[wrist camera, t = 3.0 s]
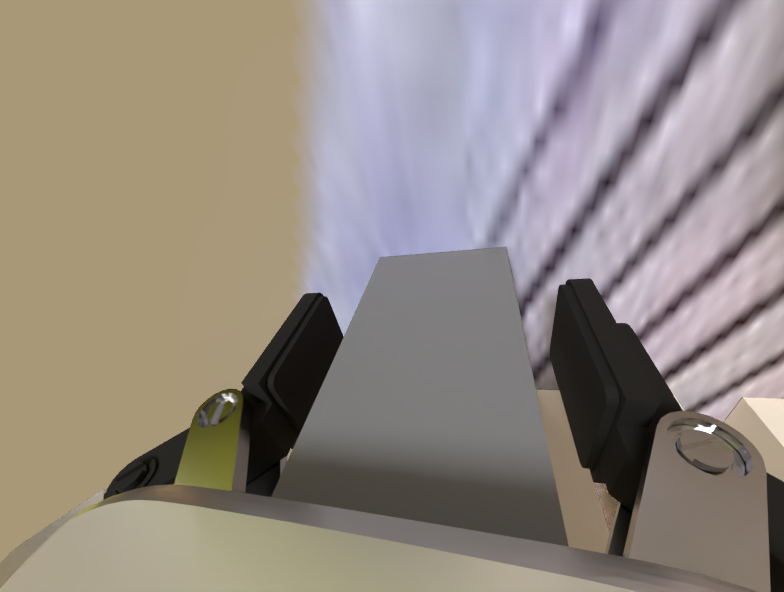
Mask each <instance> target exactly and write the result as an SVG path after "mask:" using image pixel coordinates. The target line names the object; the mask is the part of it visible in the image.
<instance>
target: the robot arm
mask: <svg viewBox="0 0 784 592" xmlns="http://www.w3.org/2000/svg"><path fill="white" fill-rule="evenodd" d="M343 338H344V337H343V334H342V332H341V330H340V327H339V325H338V322H337V320H336V317H335V315H334V312H333V310H332V307H331V305H330V302H329V300H328V298H327V297H325V296H323V294H322V293H307V294H304V295H303V297H302V298H301V299H300V301H299V302H298V304H297V305H296V307H295V308H294V309H293V311H292V312H291V314H290V315H289V316H288V318H287V320H286V321H285V322H284V323H283V325H282V326H281V328H280V329H279V331H278V332H277V333H276V335H275V336H274V338H273V339H272V340H271V342H270V343H269V345H268V346H267V347H266V349H265V350H264V352H263V353H262V355H261V356H260V357H259V359H258V360H257V362H256V363H255V364H254V366H253V367H252V369H251V370H250V371H249V373H248V374H247V376H246V377H245V379H244V380H243V381H242V384H243V386H244V388H243V389H242V391H239V390H237V389H227V390H223V391H220V392H218V393H216V394H214V395H213V396H211V397H210V398H208V399H207V400H206V401H205V402H204V403H203V404H202V405H201V406H200V407H199V408H198V410H197V411H196V412H195V415H194V417H193V419H192V423H191V426H190V428H189V429H187V430H185V431H183V432H181V433H180V434H178V435H176V436H175V437H173V438H171V439H169V440H168V441H166V442H164V443H163V444H161V445H159V446H157V447H156V448H154V449H152V450H150V451H149V452H147V453H145V454H143V455H142V456H140V457H138V458H137V459H135V460H134V461H132V462H131V463H129V464H128V465H127V466H126V467H125V468H124V469H122V470H121V471H120V472H119V474H118V475H117V476H116V477H115V478H114V479H113V481H112V482H111V484H110V485H109V487H108V489H107V490H105V489H102V490H101V491H100V492H98V493H96V494H95V495H93V496H92V497H91V498H89V499H87V500H86V501H84V502H83V503H81V504H80V505H78V506H77V507H75V508H74V509H73V510H71V511H69V512H68V513H67V514H65V515H63V516H62V517H61V518H59V519H58V520H56V521H55V522H53V523H52V524H50V525H49V526H47V527H45V528H44V529H43V530H41V531H40V532H38V533H37V534H35V535H34V536H32V537H31V538H29V539H28V540H26V541H25V542H23V543H22V544H21V545H19V546H18V547H17V548H15V549H14V550H13V551H12V552H10V554H9V555H8V556H7V557H6V558H5V559H4V560H3V561H2V562H1V563H0V592H784V482H783V481H781V480H780V479H778V478H776V477H774V476H773V475H771V474H769V473H767V472H766V467H765V464H764V460H763V457H762V456H761V454H760V453H759V452H758V450H757V449H756V447H755V446H754V445H753V444H752V443H751V442H750V441H749V440H748V439H747V438H746V437H745V436H744V435H742V434H741V433H740V432H738V431H737V430H735V429H734V428H732V427H731V426H729V425H728V424H726V423H724V422H722V421H719V420H717V419H715V418H713V417H711V416H707V415H704V414H700V413H696V412H688V411H683V410H682V408H681V406H680V405H679V403H678V402H677V400H676V398H675V397H674V395H673V394H672V392H671V390H670V389H669V387H668V386H667V384H666V382H665V381H664V379H663V378H662V376H661V374H660V373H659V371H658V370H657V368H656V366H655V365H654V363H653V361H652V360H651V358H650V357H649V355H648V353H647V352H646V350H645V349H644V347H643V345H642V344H641V342H640V341H639V339H638V337H637V336H636V334H635V333H634V331H633V329H632V328H631V327H630V326H629V325H628V324H626V323H616V321H615V319H614V318H613V316H612V314H611V312H610V311H609V309H608V307H607V306H606V304H605V302H604V300H603V299H602V297H601V295H600V293H599V292H598V290H597V288H596V286H595V285H594V283H593V281H592V280H591V279H570V280H567V281H566V285H560V286H559V289H558V295H557V302H556V310H555V317H554V324H553V331H552V338H551V345H550V358H551V362H552V366H553V369H554V373H555V376H556V380H557V383H558V387H559V390H560V394H561V397H562V401H563V405H564V408H565V412H566V415H567V419H568V422H569V426H570V429H571V433H572V437H573V440H574V444H575V447H576V451H577V454H578V458H579V461H580V464H581V466H582V468H587V469H589V470H590V473H591V476H592V480H593V482H596V483H605V484H606V486H607V489H608V492H609V494H610V495H611V496H613V497H614V498H615V499H616V500H617V501H618V503H617V507H616V511H615V515H614V519H613V523H612V527H611V530H610V534H609V538H608V542H607V546H606V550H605V553H600V552H594V551H589V550H583V549H578V548H573V547H567V546H562V545H557V544H551V543H545V542H539V541H533V540H527V539H521V538H515V537H509V536H504V535H498V534H492V533H486V532H480V531H474V530H468V529H462V528H456V527H450V526H444V525H439V524H433V523H427V522H420V521H414V520H408V519H402V518H396V517H390V516H384V515H378V514H372V513H366V512H360V511H354V510H347V509H341V508H335V507H329V506H323V505H317V504H311V503H304V502H298V501H292V500H285V499H279V498H273V497H271V496H272V494H273V492H274V490H275V487H276V485H277V483H278V481H279V479H280V476H281V474H282V472H283V470H284V468H285V465H286V463H287V455H288V453H289V450H290V448H291V449H293V448H294V446H295V443H296V441H297V439H298V437H299V435H300V432H301V430H302V428H303V426H304V424H305V421H306V419H307V417H308V415H309V413H310V410H311V408H312V406H313V404H314V402H315V399H316V397H317V395H318V393H319V391H320V388H321V386H322V384H323V382H324V380H325V377H326V375H327V373H328V371H329V369H330V366H331V364H332V362H333V360H334V358H335V355H336V353H337V351H338V349H339V347H340V344H341V342H342V340H343Z"/></svg>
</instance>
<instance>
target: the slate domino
mask: <svg viewBox="0 0 784 592" xmlns="http://www.w3.org/2000/svg"><path fill="white" fill-rule="evenodd" d="M271 497H273V498H279V499H285V500H292V501H298V502H304V503H311V504H317V505H323V506H329V507H335V508H341V509H347V510H354V511H360V512H366V513H372V514H378V515H384V516H390V517H396V518H402V519H408V520H414V521H420V522H427V523H433V524H439V525H444V526H450V527H456V528H462V529H468V530H474V531H480V532H486V533H492V534H498V535H504V536H509V537H515V538H521V539H527V540H533V541H539V542H545V543H551V544H557V545H562V546H567V547H569V545H568V540H567V535H566V531H565V526H564V521H563V516H562V512H561V507H560V502H559V497H558V492H557V488H556V483H555V478H554V473H553V468H552V464H551V459H550V454H549V449H548V445H547V440H546V435H545V430H544V425H543V421H542V416H541V411H540V406H539V402H538V397H537V392H536V387H535V382H534V378H533V373H532V368H531V363H530V358H529V354H528V349H527V344H526V339H525V335H524V330H523V325H522V320H521V315H520V311H519V306H518V301H517V296H516V292H515V287H514V282H513V277H512V272H511V268H510V263H509V258H508V253H507V248H506V247H499V248H487V249H475V250H463V251H451V252H439V253H427V254H415V255H403V256H391V257H380V259H379V261H378V263H377V265H376V267H375V270H374V272H373V274H372V276H371V278H370V281H369V283H368V285H367V287H366V289H365V292H364V294H363V296H362V298H361V300H360V303H359V305H358V307H357V309H356V311H355V314H354V316H353V318H352V320H351V322H350V325H349V327H348V329H347V331H346V333H345V336H344V338H343V340H342V342H341V344H340V347H339V349H338V351H337V353H336V355H335V358H334V360H333V362H332V364H331V366H330V369H329V371H328V373H327V375H326V377H325V380H324V382H323V384H322V386H321V388H320V391H319V393H318V395H317V397H316V399H315V402H314V404H313V406H312V408H311V410H310V413H309V415H308V417H307V419H306V421H305V424H304V426H303V428H302V430H301V432H300V435H299V437H298V439H297V441H296V443H295V446H294V448H293V450H292V452H291V455H290V457H289V459H288V461H287V463H286V465H285V468H284V470H283V472H282V474H281V476H280V479H279V481H278V483H277V485H276V487H275V490H274V492H273V494H272V496H271Z"/></svg>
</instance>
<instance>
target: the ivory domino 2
mask: <svg viewBox="0 0 784 592" xmlns="http://www.w3.org/2000/svg"><path fill="white" fill-rule="evenodd" d="M724 423H726V424H728V425H729V426H731V427H732V428H734V429H735V430H737V431H738V432H740V433H741V434H742V435H744V436H745V437H746V438H747V439H748V440H749V441H750V442H751V443H752V444H753V445H754V446H755V447H756V449H757V450H758V452H759V453H760V454H761V456H762V457H763V460H764V464H765V467H766V472H767V473H769V474H771V475H773V476H774V477H776V478H778V479H780V480H781V481H783V482H784V399H775V398H749V397H742V399H741V400H740V401H739V403H738V404H737V405H736V407H735V408H734V409H733V411H732V412H731V413H730V415H729V416H728V417H727V419H726V420H725V421H724Z"/></svg>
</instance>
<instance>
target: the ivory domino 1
mask: <svg viewBox="0 0 784 592" xmlns="http://www.w3.org/2000/svg"><path fill="white" fill-rule="evenodd" d="M536 392H537V397H538V402H539V406H540V411H541V416H542V421H543V425H544V430H545V435H546V440H547V445H548V449H549V454H550V459H551V464H552V468H553V473H554V478H555V483H556V488H557V492H558V497H559V502H560V507H561V512H562V516H563V521H564V526H565V531H566V535H567V540H568V545H569V547H573V548H578V549H583V550H589V551H594V552H600V553H605V550H606V546H607V542H608V538H609V530H608V527H607V524H606V521H605V517H604V514H603V511H602V507H601V504H600V501H599V497H598V494H597V491H596V487H595V484H594V482H593V480H592V476H591V473H590V470H589V469H587V468H582V466H581V464H580V461H579V458H578V454H577V451H576V447H575V444H574V440H573V437H572V433H571V429H570V426H569V422H568V419H567V415H566V412H565V408H564V405H563V401H562V397H561V394H560V390H539V389H536Z"/></svg>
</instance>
